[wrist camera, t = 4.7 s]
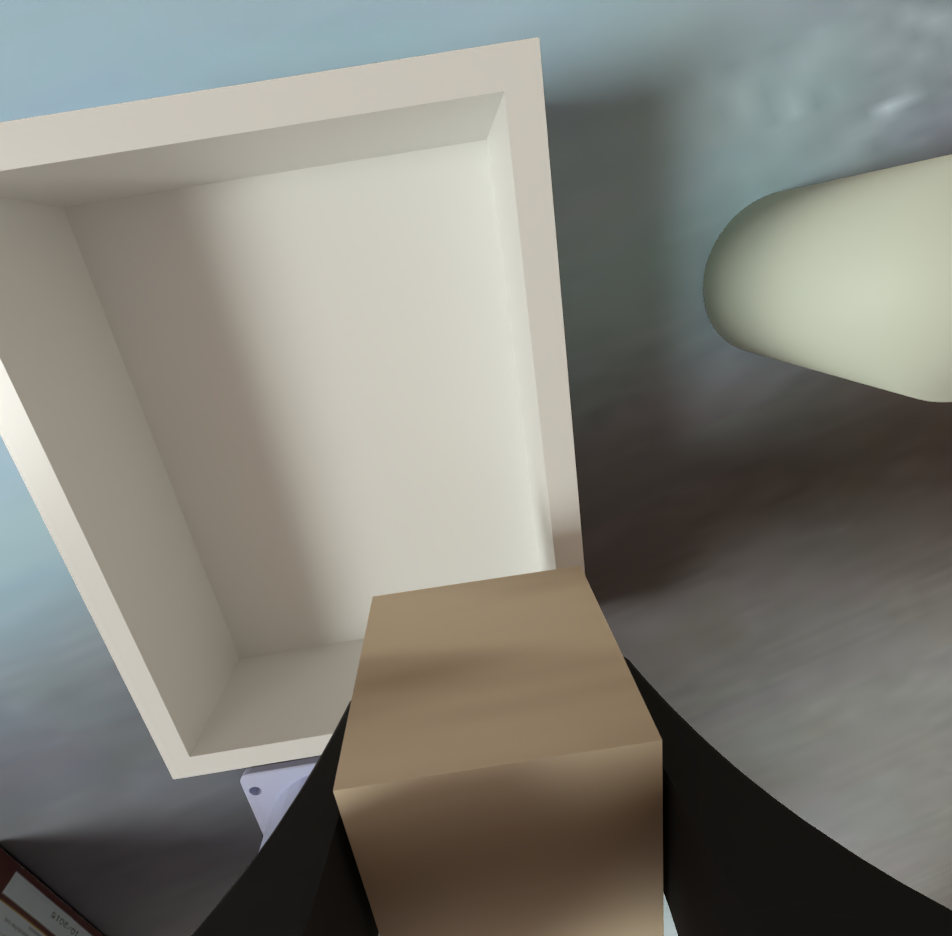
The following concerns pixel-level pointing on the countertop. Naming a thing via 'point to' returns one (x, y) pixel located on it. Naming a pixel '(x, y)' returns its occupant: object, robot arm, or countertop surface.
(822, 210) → the sage cylinder
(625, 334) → the countertop surface
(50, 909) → the protein box
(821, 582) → the countertop surface
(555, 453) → the box
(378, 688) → the wooden cube
